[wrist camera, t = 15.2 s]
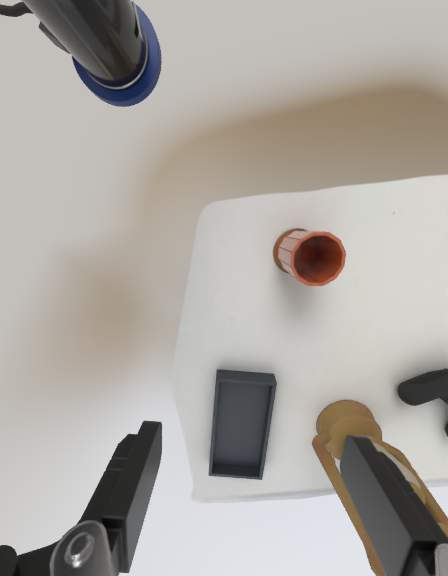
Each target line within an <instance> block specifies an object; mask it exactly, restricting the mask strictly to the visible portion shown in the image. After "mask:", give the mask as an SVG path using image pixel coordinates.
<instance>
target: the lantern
mask: <svg viewBox="0 0 448 576" xmlns="http://www.w3.org/2000/svg"><path fill="white" fill-rule="evenodd" d="M317 432H318V435H317V436H316V437H314V439H313V442H312V446H313V448H314V450H315V452H316V454H317V456H318V458H319V460H320V462H321V464H322V466H323V467H324V469H325V471H326V473H327V475H328V477H329V479H330V481H331V483H332V485H333V487H334V489H335V490H336V492H337V494H338V496H339V498H340V500H341V502H342V504H343V505H344V507H345V509H346V511H347V513H348V515H349V517H350V519H351V521H352V523H353V525H354V527H355V528H356V530H357V532H358V534H359V536H360V538H361V540H362V542H363V544H364V547H365V550H366V553H367V557H368V560H369V563H370V566H371V569H372V570H373V572H374V573H375V575H376V576H386V575H385V572H384V570H383V568H382V566H381V564H380V561H379V559H378V557H377V555H376V552H375V550H374V548H373V546H372V544H371V541H370V539H369V537H368V535H367V533H366V530H365V528H364V526H363V524H362V521H361V519H360V517H359V515H358V513H357V510H356V508H355V506H354V504H353V502H352V499H351V497H350V495H349V493H348V490H347V488H346V486H345V484H344V482H343V479H342V476H341V474H340V472H339V470H338V469H337V467H336V465H335V460H334V458H333V457H335V458H337V459H339V460H341V456H342V452H343V448H344V443H345V439H346V436H347V435H355V436H366V437H368V438H369V439H370V440H371V442H372V443H373V445H374V446H375V448H376V449H377V451H381V452H383V453H384V454H386V455H387V456H388V457H389V458H390V459H391V460H392V461H393V462H394V463H395V464H396V465H397V466H398V468H399V469H400V471H401V472H402V473H403V475H404V476H405V478H406V481H408V482H409V483H410V485H411V486H412V488H413V489H414V492H415V493H417V495H418V496H419V497H420V499H421V500H422V502H423V503H424V505H425V506H426V507H427V509H428V510H429V512H430V513H431V514H432V516H433V517H434V519H435V520H436V522H437V523H438V524H439V526H440V527H441V529H442V530H443V531H444V533H445V534H446V536H447V537H448V518H447V516H446V515H445V513H444V512H443V511H442V509H441V508H440V506H439V505H438V503H437V502H436V500H435V499H434V497H433V496H432V494H431V493H430V492H429V490H428V489H427V487H426V486H425V485H424V483H423V482H422V480H421V479H420V477H419V476H418V474H417V473H416V471H415V470H414V469H413V468H412V466H411V464H410V463H409V461H408V460H407V458H406V457H405V455H404V454H403V453H402V452H401V451H399V450H398V449H396V448H395V447H393V446H391V445H389V444H387V443H385V442H383V441H381V440H382V431H381V428H380V426H379V425H378V424H377V423H376V421H375V420H374V418H373V415H372V413H371V412H370V410H369V409H368V408H367V407H366V406H365V405H363V404H360V403H358V402H355V401H352V400H343V401H338V402H335V403H333V404H331V405H329V406H328V407H327V408H325V409H324V410H323V411H322V412H321V414H320V416H319V417H318V420H317ZM324 445H326V447H327V449H328V451H329V452H328V451H327V449H326V448H325V446H324ZM332 456H333V457H332Z"/></svg>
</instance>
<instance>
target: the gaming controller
mask: <svg viewBox="0 0 448 576" xmlns="http://www.w3.org/2000/svg"><path fill="white" fill-rule="evenodd" d="M398 395H399V397H400V398H401V400H402V401H404V402H405V403H407V404H409V405H413V406H416V405H420V404H423V403H426V402H429V401H432V400H434V399H437V398H441V399H442V400H443V401H444V402H445V403H446V404H448V369H443V370H438V371H432V372H428V373H425V374H423V375H420V376H418V377H415V378H413V379H410V380H408V381H406V382H404V383H401V384H400V386H399V387H398ZM445 431H446V434H447V436H448V424H447V425H446V428H445Z"/></svg>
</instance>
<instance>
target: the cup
mask: <svg viewBox="0 0 448 576" xmlns="http://www.w3.org/2000/svg"><path fill="white" fill-rule="evenodd" d="M345 252H346V251H345V249H344V247H343V245H342V243H341V240H340V239H338V238H337V237H335V236H334V235H332V234H331V233H329V232H319V231H291V232H290V233H288V234H286V235H284V237H282V239H281V240H280V242H279V243H278V245H277V250H276V258H277V260H278V262H279V264H280V266H281V267H282V268H283V269H285V270H286V271H287V272H288V273H290V274H291V275H292V276H294V277H295V278H296V279H298V280H299V281H301V282H303V283H304V284H306V285H308V286H322V285H325V284H327V283H329V282H331V281H333V280H335V279H336V278H337V276H338V275H339V273H340V272H341V271H342V269H343V268H344V264H345V256H346V253H345Z"/></svg>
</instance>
